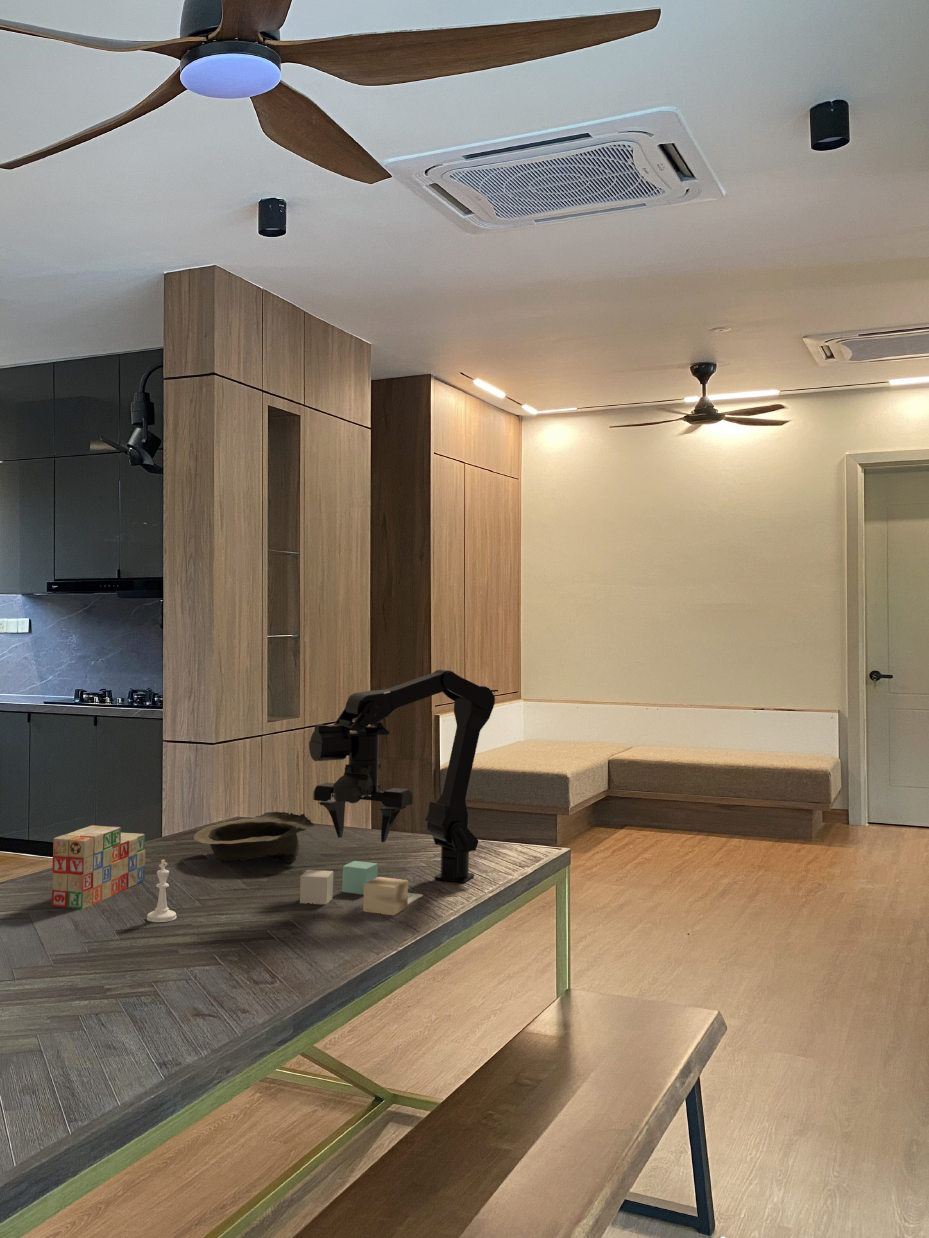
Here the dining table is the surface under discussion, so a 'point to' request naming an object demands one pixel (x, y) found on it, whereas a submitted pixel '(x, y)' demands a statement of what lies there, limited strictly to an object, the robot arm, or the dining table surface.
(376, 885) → the maple block
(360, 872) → the teal block
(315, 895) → the beige block
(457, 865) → the robot arm
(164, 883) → the chess piece
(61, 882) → the stack of blocks
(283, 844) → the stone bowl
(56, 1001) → the dining table surface
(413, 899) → the card
